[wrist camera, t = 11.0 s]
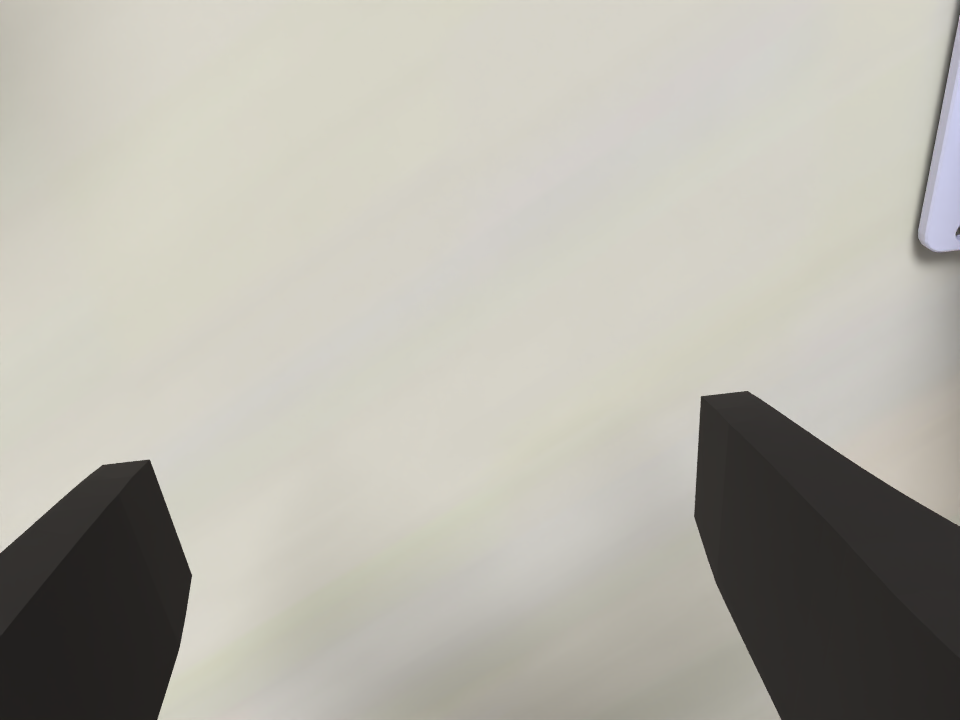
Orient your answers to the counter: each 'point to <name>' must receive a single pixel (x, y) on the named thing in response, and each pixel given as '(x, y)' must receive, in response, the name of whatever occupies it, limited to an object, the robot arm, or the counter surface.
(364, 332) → the counter surface
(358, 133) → the counter surface
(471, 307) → the counter surface
